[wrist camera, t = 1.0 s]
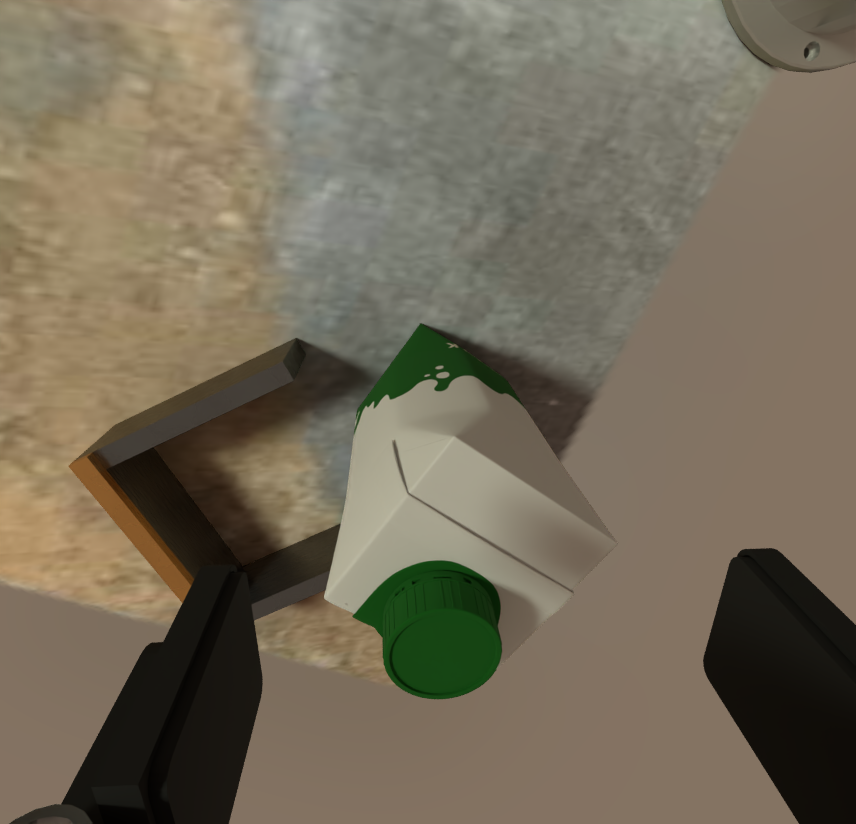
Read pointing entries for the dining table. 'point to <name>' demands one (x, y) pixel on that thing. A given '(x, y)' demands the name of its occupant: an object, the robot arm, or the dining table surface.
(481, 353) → the dining table surface
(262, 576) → the bracket
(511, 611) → the soya milk
